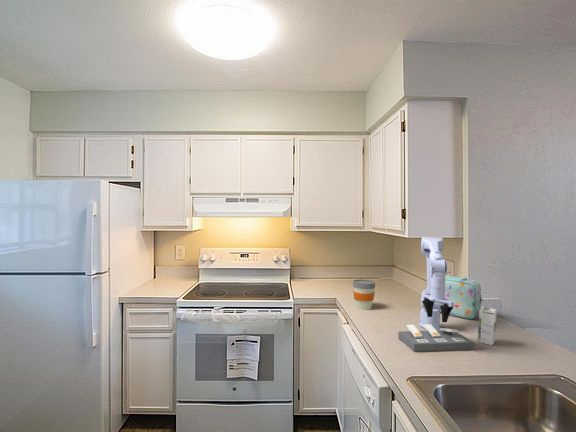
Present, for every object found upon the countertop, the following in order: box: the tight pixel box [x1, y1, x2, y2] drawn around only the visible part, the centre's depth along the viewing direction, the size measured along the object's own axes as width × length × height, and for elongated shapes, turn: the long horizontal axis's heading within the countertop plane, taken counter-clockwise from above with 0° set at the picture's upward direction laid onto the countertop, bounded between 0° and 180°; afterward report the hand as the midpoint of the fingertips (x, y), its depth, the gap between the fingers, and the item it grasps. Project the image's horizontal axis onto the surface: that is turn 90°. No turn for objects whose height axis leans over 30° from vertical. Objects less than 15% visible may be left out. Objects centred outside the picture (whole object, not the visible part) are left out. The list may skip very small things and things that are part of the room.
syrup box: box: [477, 306, 498, 346], centre depth 145 cm, size 6×6×14 cm
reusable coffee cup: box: [352, 279, 376, 311], centre depth 194 cm, size 12×12×15 cm
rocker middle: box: [424, 324, 441, 337], centre depth 145 cm, size 8×3×1 cm, turn 7°
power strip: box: [397, 330, 475, 353], centre depth 142 cm, size 14×26×4 cm, turn 97°
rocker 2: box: [440, 327, 459, 333], centre depth 146 cm, size 8×3×1 cm, turn 7°
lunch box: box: [440, 274, 484, 320], centre depth 184 cm, size 27×10×21 cm, turn 43°
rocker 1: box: [406, 324, 423, 338], centre depth 144 cm, size 8×3×1 cm, turn 7°
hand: (437, 319), depth 144 cm, fingers open, 7 cm apart
